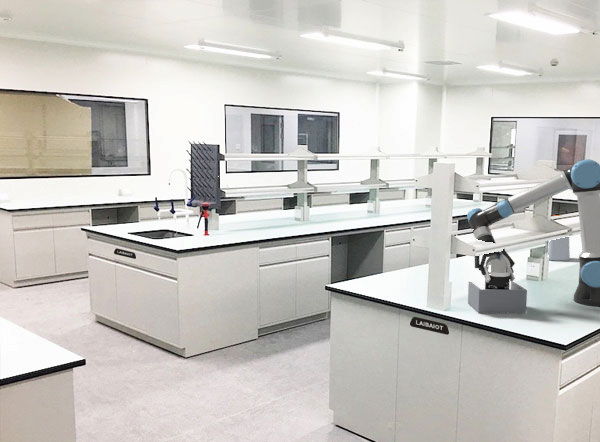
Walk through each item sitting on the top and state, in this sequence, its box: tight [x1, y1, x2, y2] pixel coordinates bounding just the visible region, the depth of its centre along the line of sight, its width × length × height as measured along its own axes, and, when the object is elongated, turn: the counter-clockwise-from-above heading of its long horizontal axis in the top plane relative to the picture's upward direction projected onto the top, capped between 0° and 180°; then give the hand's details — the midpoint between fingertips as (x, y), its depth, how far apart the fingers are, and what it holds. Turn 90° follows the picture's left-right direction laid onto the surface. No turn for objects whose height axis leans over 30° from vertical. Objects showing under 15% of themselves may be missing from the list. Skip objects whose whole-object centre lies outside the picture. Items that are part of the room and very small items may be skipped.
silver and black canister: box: [484, 251, 511, 289], centre depth 243 cm, size 10×10×25 cm
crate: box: [467, 281, 528, 314], centre depth 244 cm, size 20×16×10 cm
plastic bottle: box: [548, 214, 571, 262], centre depth 358 cm, size 15×15×28 cm
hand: (500, 280), depth 240 cm, fingers open, 10 cm apart
